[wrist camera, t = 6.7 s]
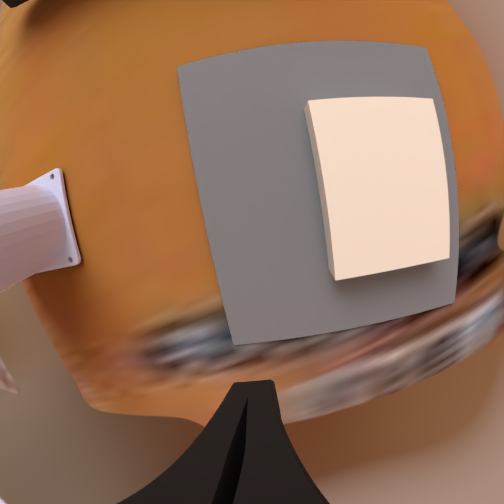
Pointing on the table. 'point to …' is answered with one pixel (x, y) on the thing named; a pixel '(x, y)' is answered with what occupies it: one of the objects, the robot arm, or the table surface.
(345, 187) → the tile
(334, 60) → the mat
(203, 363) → the table surface
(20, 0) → the magazine
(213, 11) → the table surface
